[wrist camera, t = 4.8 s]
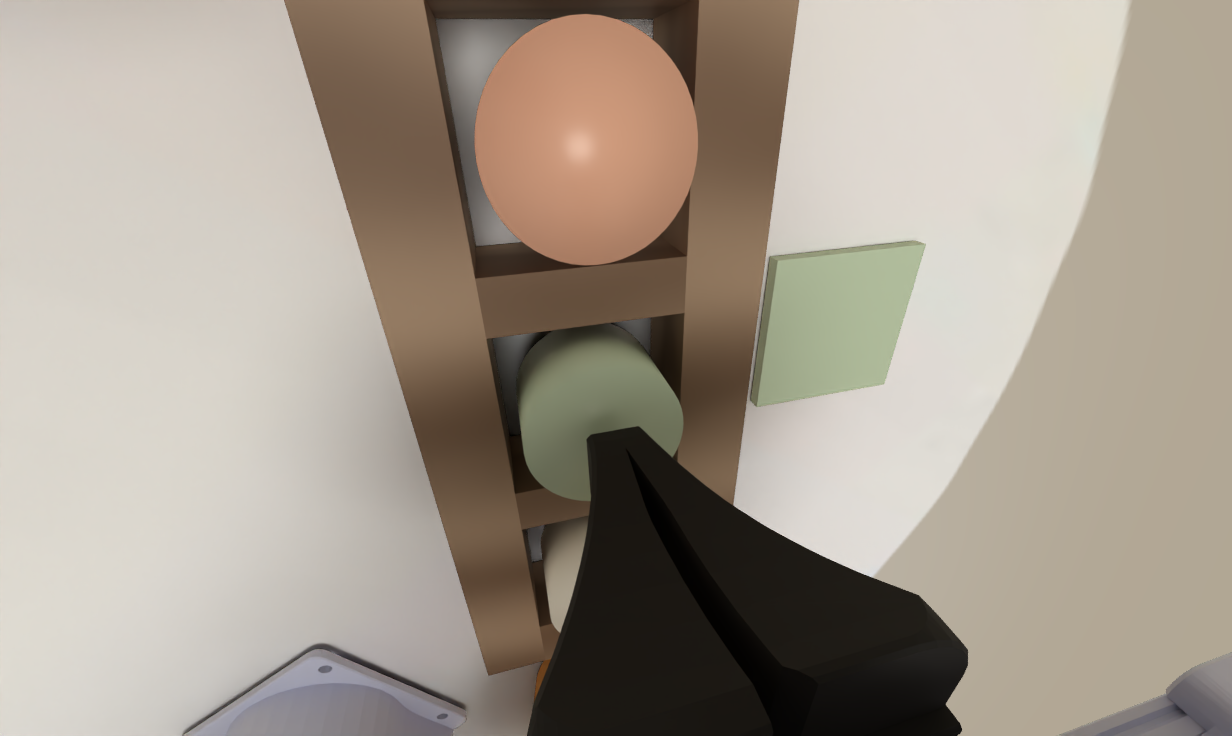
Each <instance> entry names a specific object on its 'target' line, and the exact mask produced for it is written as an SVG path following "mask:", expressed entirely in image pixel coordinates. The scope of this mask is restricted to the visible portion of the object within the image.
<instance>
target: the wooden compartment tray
mask: <svg viewBox="0 0 1232 736" xmlns="http://www.w3.org/2000/svg"><path fill="white" fill-rule="evenodd" d="M284 1H285V5H286V8H287V11H288V15H289V18H290V21H291V24H292V28H293V31H294V34H295V38H296V41H297V44H298V48H299V51H300V54H301V58H302V61H303V64H304V67H305V71H306V74H307V77H308V81H309V84H310V87H311V91H312V94H313V97H314V101H315V104H316V107H317V110H318V114H319V117H320V120H321V124H322V127H323V130H324V134H325V137H326V140H327V143H328V147H329V150H330V153H331V157H332V160H333V163H334V167H335V170H336V173H337V177H338V180H339V183H340V186H341V190H342V193H343V196H344V200H345V203H346V206H347V210H348V213H349V216H350V219H351V223H352V226H353V229H354V233H355V236H356V239H357V243H358V246H359V249H360V253H361V256H362V259H363V262H364V266H365V269H366V272H367V276H368V279H369V282H370V286H371V289H372V292H373V295H374V299H375V302H376V305H377V309H378V312H379V315H380V319H381V322H382V325H383V329H384V332H385V335H386V338H387V342H388V345H389V348H390V352H391V355H392V358H393V362H394V365H395V368H396V372H397V375H398V378H399V381H400V385H401V388H402V391H403V395H404V398H405V401H406V405H407V408H408V411H409V414H410V418H411V421H412V424H413V428H414V431H415V434H416V438H417V441H418V444H419V448H420V451H421V454H422V457H423V461H424V464H425V467H426V471H427V474H428V477H429V481H430V484H431V487H432V490H433V494H434V497H435V500H436V504H437V507H438V510H439V514H440V517H441V520H442V524H443V527H444V530H445V533H446V537H447V540H448V543H449V547H450V550H451V553H452V557H453V560H454V563H455V566H456V570H457V573H458V576H459V580H460V583H461V586H462V590H463V593H464V596H465V600H466V603H467V606H468V609H469V613H470V616H471V619H472V623H473V626H474V629H475V633H476V636H477V639H478V642H479V646H480V649H481V652H482V656H483V659H484V662H485V666H486V669H487V672H488V676H489V675H493V674H497V673H500V672H504V671H508V670H511V669H515V668H519V667H522V666H526V665H530V664H533V663H537V662H541V661H544V660H548V659H551V658H552V655H553V652H554V650H555V647H556V644H557V641H558V638H559V635H560V632H559V631H557V629H556V628H555V627H554V625H553V623H552V621H551V617H550V610H549V603H548V595H547V588H546V581H545V574H544V567H543V561H538V562H534V563H532V559H531V553H530V548H529V542H528V536H527V531H526V529H527V528H532V527H537V526H541V525H546V524H551V523H555V522H560V521H565V520H569V519H574V518H579V517H583V516H588V515H589V510H590V502H591V501H580V500H573V499H569V498H565V497H562V496H559V495H557V494H555V493H553V492H551V491H549V490H548V489H546V488H545V487H544V486H542V485H541V484H540V483H539V482H538V481H537V480H536V479H535V478H534V476H533V475H532V473H531V472H530V470H529V468H528V466H527V464H526V460H525V456H524V450H523V443H522V435H517V436H511V437H510V435H509V430H508V424H507V418H506V413H505V407H504V402H503V396H502V390H501V385H500V379H499V373H498V368H497V362H496V357H495V351H494V345H493V340H492V338H497V337H505V336H513V335H520V334H528V333H535V332H543V331H551V330H558V329H566V328H574V327H581V326H589V325H596V324H604V323H612V322H619V321H627V320H635V319H642V318H650V317H651V359H652V361H653V362H654V364H655V365H656V367H657V368H658V370H659V371H660V373H661V374H662V376H663V377H664V379H665V380H666V382H667V383H668V384H669V386H670V387H671V389H672V390H673V392H674V393H675V395H676V397H677V399H678V400H679V403H680V405H681V408H682V413H683V433H682V437H681V441H680V443H679V446H678V448H677V450H676V452H675V454H674V456H673V458H674V459H675V460H676V461H677V462H678V463H679V464H681V465H682V466H683V467H684V468H685V469H686V470H688V471H689V472H690V473H691V474H692V475H694V476H695V477H696V478H697V479H698V480H700V481H701V482H702V483H703V484H705V485H706V486H707V487H708V488H710V489H711V490H712V491H714V492H715V493H716V494H718V495H719V496H720V497H722V498H723V499H724V500H726V501H727V502H729V503H730V504H732V505H733V502H734V494H735V486H736V479H737V471H738V463H739V456H740V448H741V440H742V433H743V425H744V418H745V410H746V402H747V395H748V387H749V379H750V372H751V364H752V356H753V349H754V341H755V333H756V326H757V318H758V311H759V303H760V295H761V288H762V280H763V272H764V265H765V257H766V249H767V242H768V234H769V227H770V219H771V211H772V204H773V196H774V188H775V181H776V173H777V165H778V158H779V150H780V143H781V135H782V127H783V120H784V112H785V104H786V97H787V89H788V81H789V74H790V66H791V58H792V51H793V43H794V36H795V28H796V20H797V13H798V5H799V0H284ZM580 14H591V15H602V16H606V17H610V18H614V19H653V40H654V41H655V42H656V43H657V44H658V45H659V46H660V47H661V48H662V49H663V50H664V51H665V52H666V54H667V55H668V56H669V57H670V58H671V60H672V61H673V63H674V64H675V65H676V67H677V68H678V70H679V71H680V73H681V75H682V77H683V79H684V81H685V83H686V85H687V88H688V90H689V93H690V96H691V99H692V102H693V106H694V110H695V115H696V121H697V129H698V153H697V162H696V167H695V172H694V176H693V180H692V183H691V186H690V189H689V192H688V194H687V196H686V198H685V201H684V203H683V205H682V207H681V208H680V210H679V212H678V213H677V215H676V216H675V218H674V219H673V221H672V222H671V223H670V224H669V226H668V227H667V228H666V229H665V230H664V231H663V232H662V233H661V234H660V235H659V236H658V237H657V238H656V239H655V240H654V241H653V242H651V243H650V244H649V245H648V246H646V247H645V248H643V249H641V250H640V251H638V252H637V253H635V254H633V255H630V256H628V257H626V258H624V259H621V260H618V261H614V262H611V263H606V264H600V265H576V264H569V263H565V262H560V261H557V260H554V259H551V258H549V257H546V256H544V255H542V254H540V253H538V252H537V251H535V250H533V249H532V248H530V247H529V246H527V245H526V244H524V243H523V242H521V243H510V244H499V245H489V246H478V247H476V244H475V239H474V233H473V228H472V222H471V216H470V211H469V205H468V199H467V194H466V188H465V183H464V177H463V171H462V166H461V160H460V155H459V149H458V143H457V138H456V132H455V126H454V121H453V115H452V110H451V104H450V98H449V93H448V87H447V82H446V76H445V70H444V65H443V59H442V53H441V48H440V42H439V37H438V31H437V25H436V20H435V18H439V19H556V18H560V17H564V16H568V15H580Z"/></svg>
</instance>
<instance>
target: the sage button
mask: <svg viewBox="0 0 1232 736" xmlns="http://www.w3.org/2000/svg"><path fill="white" fill-rule="evenodd" d="M516 395H517V403H518V411H519V419H520V427H521V435H522V443H523V450H524V456H525V460H526V464H527V466H528V468H529V470H530V472H531V473H532V475H533V476H534V478H535V479H536V480H537V481H538V482H539V483H540V484H541V485H542V486H544V487H545V488H546V489H548V490H549V491H551V492H553V493H555V494H557V495H559V496H562V497H565V498H569V499H573V500H580V501H591V493H590V480H589V467H588V454H587V441H586V439H587V438H588V437H589V436H590V435H591V434H596V433H602V432H607V431H613V430H619V429H624V428H630V427H636V426H639V427H640V428H642V429H643V430H644V431H645V432H646V433H647V434H648V435H649V436H650V437H651V438H652V439H653V440H654V441H655V442H656V443H657V444H658V445H660V446H661V447H662V448H663V449H664V450H665V451H666V452H667V453H668V454H669V455H670V456H671V457H673V456H674V454H675V452H676V450H677V448H678V446H679V443H680V441H681V437H682V433H683V413H682V408H681V405H680V403H679V400H678V399H677V397H676V395H675V393H674V392H673V390H672V389H671V387H670V386H669V384H668V383H667V382H666V380H665V379H664V377H663V376H662V374H661V373H660V371H659V370H658V368H657V367H656V365H655V364H654V362H653V361H652V359H651V358H650V356H649V355H648V353H647V352H646V350H645V349H644V347H643V346H642V345H641V344H640V342H639V341H638V340H637V339H636V338H635V337H634V336H633V335H632V334H630V333H629V332H627V331H626V330H624V329H622V328H620V327H618V326H615V325H612V324H609V323H604V324H596V325H589V326H581V327H574V328H566V329H558V330H554V331H553V332H551V333H549V334H548V335H546V336H545V337H543V338H542V339H541V340H540V341H538V342H537V343H536V344H535V345H534V346H533V347H532V348H531V350H530V351H529V352H528V354H527V355H526V356H525V358H524V360H523V362H522V364H521V366H520V369H519V371H518V375H517V380H516Z"/></svg>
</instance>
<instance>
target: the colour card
mask: <svg viewBox="0 0 1232 736" xmlns="http://www.w3.org/2000/svg"><path fill="white" fill-rule="evenodd" d="M925 246H926V244H924V243H921V242H917V241H909V242H900V243H891V244H882V245H873V246H864V247H854V248H845V249H836V250H827V251H818V252H809V253H800V254H791V255H782V256H773V257H770V261H769V269H768V276H767V283H766V291H765V298H764V306H763V313H762V320H761V328H760V335H759V342H758V350H757V357H756V364H755V372H754V379H753V387H752V394H751V401H752V403H753V404H754V405H755V406H756V407H760V406H766V405H771V404H777V403H782V402H788V401H793V400H799V399H805V398H810V397H816V396H821V395H827V394H832V393H838V392H843V391H849V390H855V389H860V388H866V387H871V386H877V385H882V384H884V383H885V379H886V376H887V373H888V369H889V366H890V363H891V359H892V356H893V353H894V349H895V346H896V343H897V339H898V336H899V333H900V329H901V326H902V323H903V319H904V316H905V312H906V309H907V306H908V302H909V299H910V296H911V292H912V289H913V286H914V282H915V279H916V276H917V272H918V269H919V266H920V262H921V259H922V256H923V252H924V249H925Z"/></svg>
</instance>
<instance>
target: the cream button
mask: <svg viewBox="0 0 1232 736" xmlns="http://www.w3.org/2000/svg"><path fill="white" fill-rule="evenodd" d="M588 518H589V515H588V516H583V517H579V518H574V519H569V520H565V521H560V522H555V523H551V524H547V525H546V526H545V528H544V531H543V533H542V536H541V552H542V559H543V567H544V574H545V581H546V588H547V595H548V603H549V610H550V617H551V621H552V623H553V625H554V627H555V628H556V629H557V631H559V632H561V629H562V626H563V623H564V620H565V617H566V614H567V611H568V608H569V604H570V601H571V597H572V594H573V590H574V586H575V583H576V579H577V575H578V571H579V567H580V562H581V558H582V553H583V548H584V543H585V538H586V532H587V526H588Z"/></svg>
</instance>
